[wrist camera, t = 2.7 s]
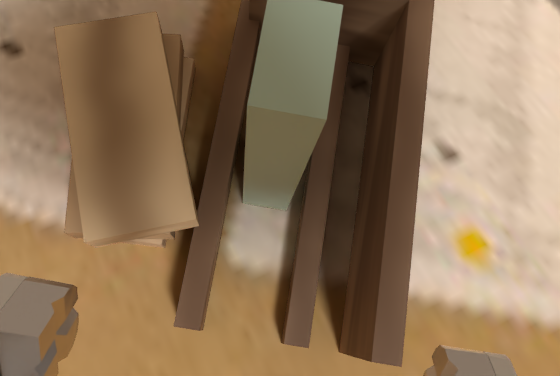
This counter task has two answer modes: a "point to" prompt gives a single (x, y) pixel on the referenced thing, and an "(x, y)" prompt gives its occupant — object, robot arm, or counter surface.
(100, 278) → the counter surface
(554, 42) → the counter surface
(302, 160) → the sage foam brick
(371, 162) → the walnut rack
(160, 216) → the ash offcut top
